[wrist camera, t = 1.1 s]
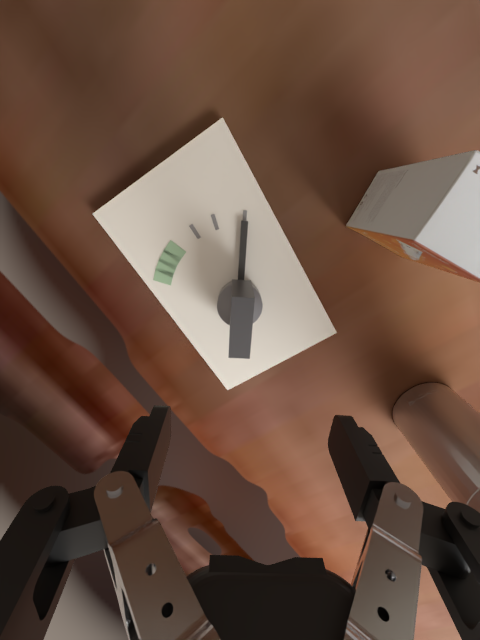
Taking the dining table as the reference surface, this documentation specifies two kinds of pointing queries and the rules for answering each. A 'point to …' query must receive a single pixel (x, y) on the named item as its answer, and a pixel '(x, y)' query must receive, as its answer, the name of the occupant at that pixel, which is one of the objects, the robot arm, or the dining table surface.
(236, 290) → the tuning knob
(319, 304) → the gauge board
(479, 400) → the dining table surface
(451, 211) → the small box
